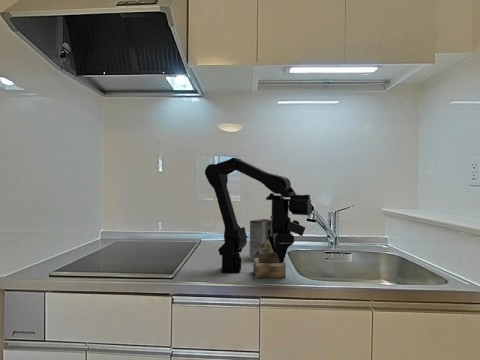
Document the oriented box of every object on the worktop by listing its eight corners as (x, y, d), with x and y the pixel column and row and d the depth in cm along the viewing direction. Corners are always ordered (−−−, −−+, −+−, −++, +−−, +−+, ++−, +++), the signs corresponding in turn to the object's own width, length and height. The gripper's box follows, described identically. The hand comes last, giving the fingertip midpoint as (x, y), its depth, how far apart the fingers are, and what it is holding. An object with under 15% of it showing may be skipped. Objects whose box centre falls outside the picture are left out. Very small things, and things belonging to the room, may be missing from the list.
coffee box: (261, 256, 158) (262, 218, 158) (274, 258, 154) (274, 220, 154) (248, 259, 151) (249, 220, 151) (261, 262, 147) (262, 221, 147)
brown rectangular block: (259, 262, 124) (259, 253, 124) (258, 261, 126) (258, 252, 126) (282, 262, 124) (282, 253, 124) (281, 261, 126) (281, 252, 126)
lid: (256, 266, 124) (256, 251, 124) (253, 260, 132) (253, 246, 131) (285, 266, 124) (286, 251, 124) (281, 260, 132) (281, 246, 132)
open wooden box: (256, 278, 124) (256, 266, 123) (253, 272, 131) (253, 260, 131) (285, 278, 124) (285, 266, 124) (280, 271, 132) (281, 260, 132)
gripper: (310, 217, 116) (309, 266, 117) (296, 211, 135) (296, 253, 135) (275, 216, 115) (274, 266, 116) (266, 211, 134) (265, 253, 134)
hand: (279, 259), depth 125 cm, fingers open, 9 cm apart
